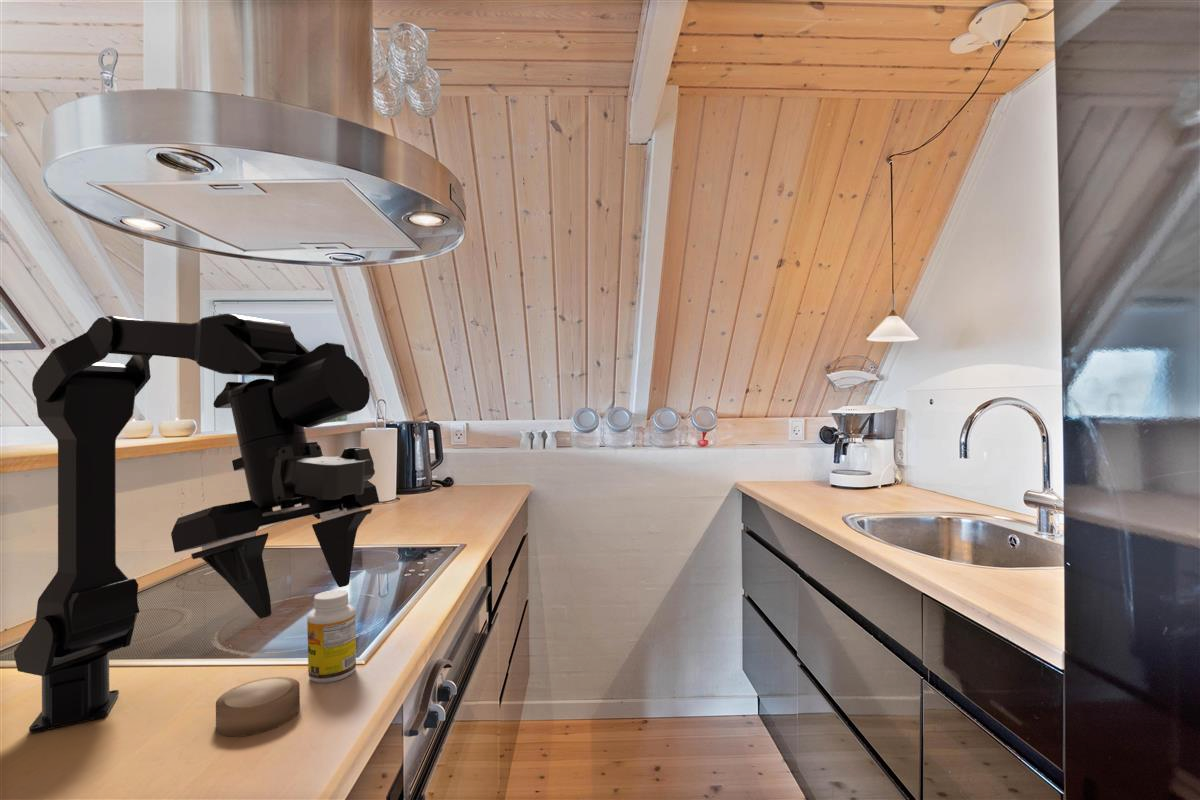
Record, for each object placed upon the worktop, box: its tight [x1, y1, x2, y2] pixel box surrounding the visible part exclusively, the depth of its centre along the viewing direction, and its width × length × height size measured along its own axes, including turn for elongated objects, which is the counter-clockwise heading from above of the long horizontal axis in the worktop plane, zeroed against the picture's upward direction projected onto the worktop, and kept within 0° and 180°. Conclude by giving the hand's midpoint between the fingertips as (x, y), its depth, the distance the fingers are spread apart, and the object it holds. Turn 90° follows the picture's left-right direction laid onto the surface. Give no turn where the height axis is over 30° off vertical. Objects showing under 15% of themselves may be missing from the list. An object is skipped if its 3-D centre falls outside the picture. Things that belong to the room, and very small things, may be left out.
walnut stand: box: [215, 676, 301, 737], centre depth 65 cm, size 8×8×3 cm
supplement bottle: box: [307, 589, 357, 684], centre depth 75 cm, size 6×6×10 cm
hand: (307, 600), depth 55 cm, fingers open, 9 cm apart
